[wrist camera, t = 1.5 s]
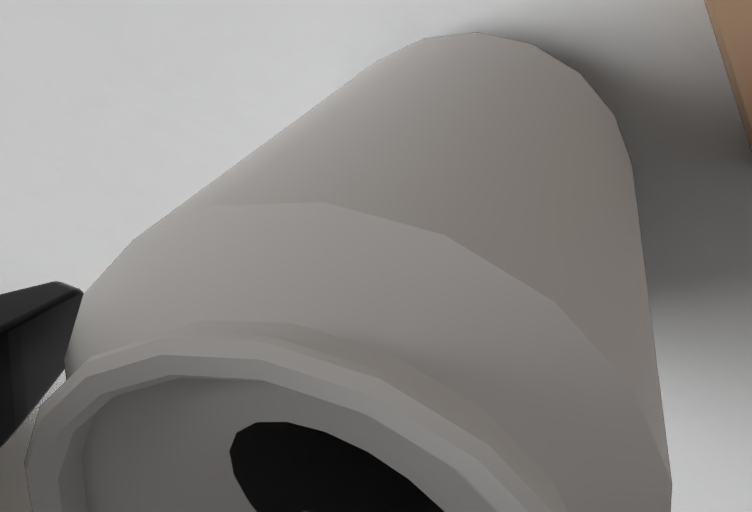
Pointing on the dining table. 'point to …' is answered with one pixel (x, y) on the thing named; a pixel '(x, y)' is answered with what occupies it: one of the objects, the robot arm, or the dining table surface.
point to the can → (380, 314)
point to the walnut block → (735, 50)
